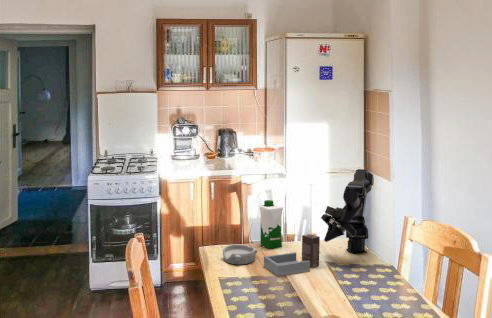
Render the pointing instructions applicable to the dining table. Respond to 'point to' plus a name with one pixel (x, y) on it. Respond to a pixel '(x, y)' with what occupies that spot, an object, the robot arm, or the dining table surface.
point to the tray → (285, 264)
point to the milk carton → (271, 225)
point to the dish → (239, 254)
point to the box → (311, 249)
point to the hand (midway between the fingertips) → (325, 241)
